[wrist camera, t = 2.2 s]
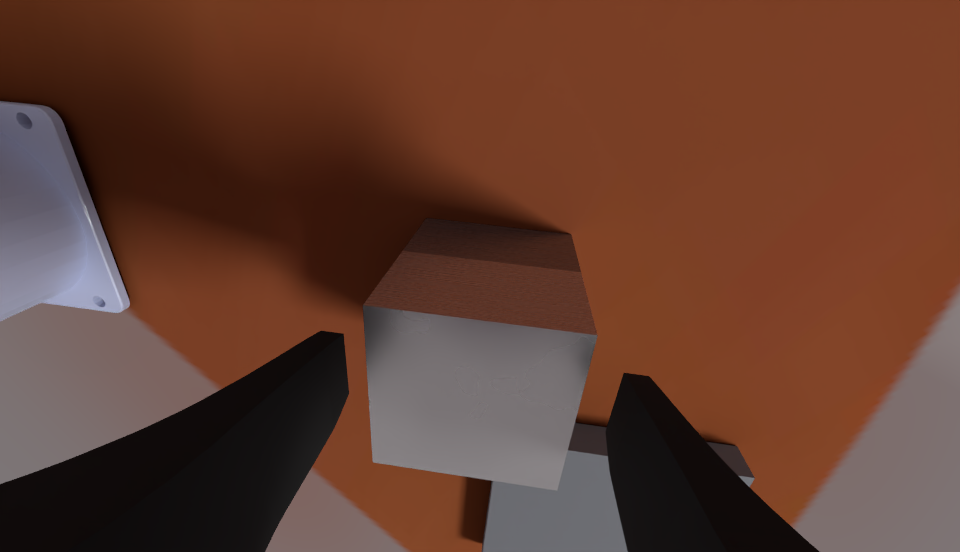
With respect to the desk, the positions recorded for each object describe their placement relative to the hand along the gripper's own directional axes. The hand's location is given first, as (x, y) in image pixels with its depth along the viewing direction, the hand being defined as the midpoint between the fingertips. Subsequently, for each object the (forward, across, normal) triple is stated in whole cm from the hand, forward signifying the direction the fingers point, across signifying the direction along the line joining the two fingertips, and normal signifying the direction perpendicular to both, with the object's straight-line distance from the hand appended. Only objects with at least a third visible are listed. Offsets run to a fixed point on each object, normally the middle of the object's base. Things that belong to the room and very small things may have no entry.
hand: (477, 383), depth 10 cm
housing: (+5, 0, 0) cm, 5 cm away
